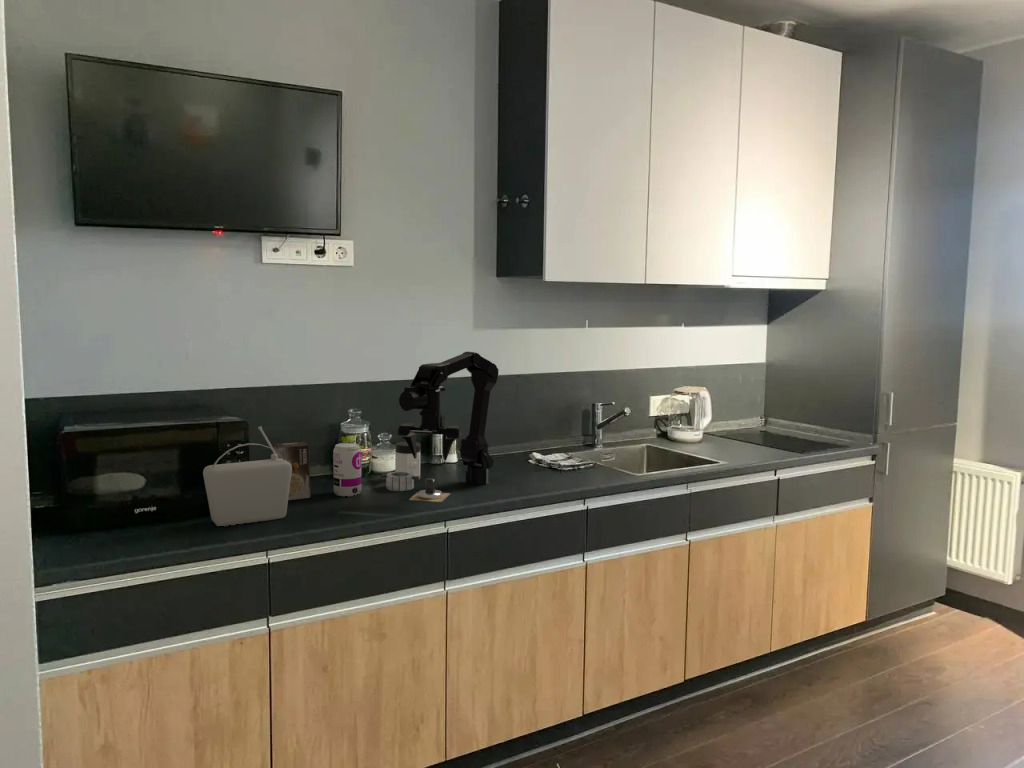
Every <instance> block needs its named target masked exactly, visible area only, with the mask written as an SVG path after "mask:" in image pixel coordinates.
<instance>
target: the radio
mask: <svg viewBox="0 0 1024 768" xmlns="http://www.w3.org/2000/svg"><path fill="white" fill-rule="evenodd" d="M257 429H258V430H259V431H260V432H261V434H262V436H263V438H264V440H265V441H266V443H267V445H268V446H266V445H264V444H260V443H244V444H240V445H237V446H234V447H232V448H230V449H228V450H226V451H225V452H224V453H222V455H220V456H219V457H218V458H217V460H215V462H214V463H213V464H210V465H207V466H205V467H204V468H203V471H202V475H203V480H204V486H205V492H206V496H207V502H208V507H209V513H210V519H211V521H212V522H213V523H214V524H215V525H216V527H219V526H224V527H230V526H229V525H231V526H237V525H236V524H239V525H245V524H244V523H246V524H250V523H252V522H253V523H258V522H259V521H260V522H266V521H273V520H274V521H275V520H280V519H283V518H285V517H286V516H287V510H288V505H289V504H288V502H289V500H288V496H289V489H290V481H291V474H292V466H291V464H290V463H289V462H287V461H286V460H284V459H283V458H282V456H281V455H280V454H279V453H278V454H279V455H280V457H281V458H282V459H277V457H278V455H277V454H276V453H275V452H276V451H275V450H274V447H273V445H272V444H271V442H270V440H269V439H268V436H267V435H266V434H265V431H264V430H263V427H262V426H261V425H260V426H258V427H257ZM250 445H253V446H262V447H265V448H268V449H270V450H271V451H272V453H271V455H270V459H261V460H249V461H241V462H240V461H239V462H231V463H229V462H228V463H221V464H220V463H219V464H218V462H219V461H220V459H222V458H223V457H224V456H225V455H226V454H227V453H229V452H231V451H233V450H235V449H237V448H239V447H245V446H250ZM253 523H252V524H253Z"/></svg>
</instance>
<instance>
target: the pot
mask: <svg viewBox="0 0 1024 768" xmlns="http://www.w3.org/2000/svg"><path fill="white" fill-rule="evenodd" d="M380 478H383V479H384V478H385V479H386V480H385V482H386V483H385V485H386V488H385V489H387V490H389V491H391V492H392V491H394V492H405V491H411V490H413V489H414V488H415V483H414V482H415V480H416V481H417V480H418V481H419V480H420V479H421V475H420V476H414V474H413V473H411V472H405V471H396V472H395V471H391V472H387V473H382V474H380Z"/></svg>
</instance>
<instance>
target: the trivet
mask: <svg viewBox="0 0 1024 768" xmlns="http://www.w3.org/2000/svg"><path fill="white" fill-rule="evenodd" d="M418 492H419V491H417V492H416V493H415V494H414V495H412V496H411V497H410V498H409V499H408V501H421V502H422V501H423V502H424V501H425V502H433V503H435V502H437V503H442V502H444V501H445V500H446V499H447V498H448V497H449V496H450V495H451V493H449V492H442V497H441V498H439V499H432V500H428V499H421V498H419V497H418Z"/></svg>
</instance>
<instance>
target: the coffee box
mask: <svg viewBox="0 0 1024 768" xmlns="http://www.w3.org/2000/svg"><path fill="white" fill-rule="evenodd" d="M273 446H274V447H273V449H274V450H275V451H276V452H275V453H276V454H277V455H278V457H277V459H282V458H283V459H284V460H286V461H287V462H289V463H290V464H291V466H292V474H291V481H290V489H289V496H288V501H294V500H302V499H310V498H311V478H310V477H311V475H310V474H311V473H310V472H311V471H310V470H311V469H310V466H311V465H310V445H309V444H308V443H306V442H305V441H299V442H297V441H296V442H283V443H274V445H273ZM278 453H279V454H280V455H281V456H282V458H281V457H280V455H279V454H278Z"/></svg>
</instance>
